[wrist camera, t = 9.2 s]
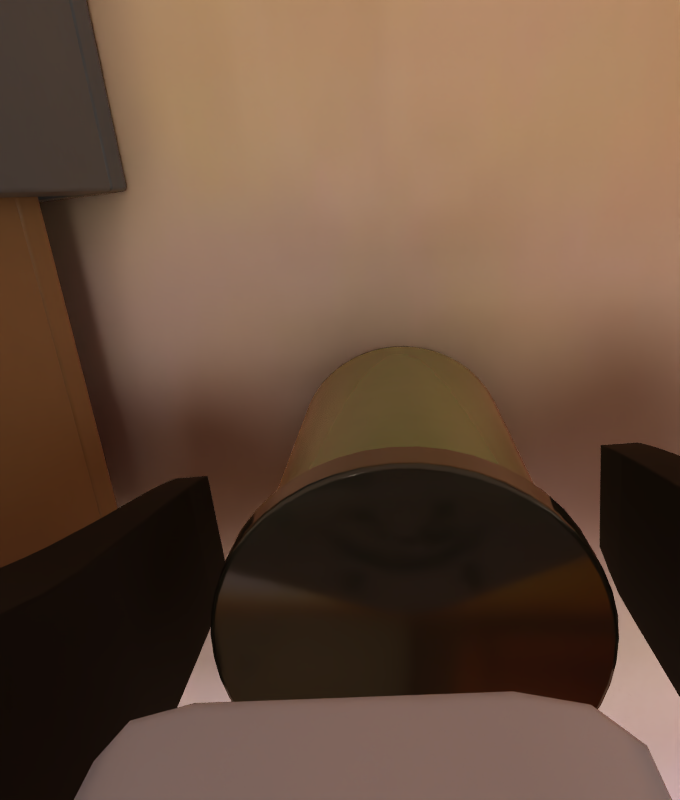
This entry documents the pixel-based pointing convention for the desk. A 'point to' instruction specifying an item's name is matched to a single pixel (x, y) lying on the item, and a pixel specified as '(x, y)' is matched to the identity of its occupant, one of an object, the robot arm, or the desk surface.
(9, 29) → the cabinet
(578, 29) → the desk surface
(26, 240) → the drawer
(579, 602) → the dark-capped cylinder
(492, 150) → the desk surface
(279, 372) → the desk surface
